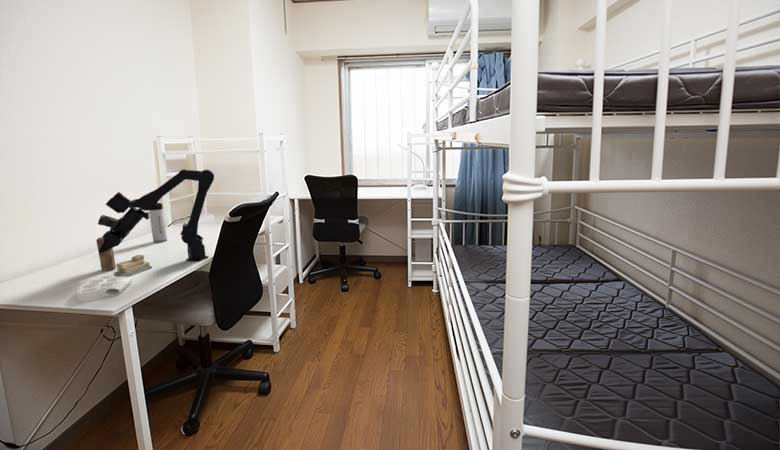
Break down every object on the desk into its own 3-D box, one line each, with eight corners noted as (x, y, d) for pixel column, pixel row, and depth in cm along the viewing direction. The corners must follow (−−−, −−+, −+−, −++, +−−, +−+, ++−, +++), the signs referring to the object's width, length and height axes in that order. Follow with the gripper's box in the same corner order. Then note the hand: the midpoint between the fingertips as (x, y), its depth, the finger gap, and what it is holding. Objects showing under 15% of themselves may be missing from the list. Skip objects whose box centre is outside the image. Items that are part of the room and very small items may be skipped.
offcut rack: (151, 268, 167) (149, 254, 166) (127, 276, 157) (124, 262, 155) (139, 266, 169) (136, 253, 168) (113, 275, 159) (111, 260, 158)
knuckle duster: (116, 299, 136) (65, 304, 132) (136, 281, 153) (91, 285, 150) (114, 289, 135) (63, 294, 132) (134, 272, 152) (90, 276, 149)
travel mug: (156, 240, 213) (150, 201, 209) (169, 239, 214) (164, 201, 210) (150, 243, 207) (144, 203, 203) (164, 242, 208) (158, 203, 204)
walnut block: (115, 267, 169) (110, 236, 166) (113, 269, 165) (108, 238, 163) (104, 268, 167) (98, 237, 165) (101, 271, 164) (96, 239, 161)
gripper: (115, 204, 171) (88, 233, 169) (104, 211, 154) (74, 243, 152) (140, 221, 176) (114, 249, 174) (132, 230, 159) (103, 261, 157)
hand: (101, 250), depth 164 cm, fingers open, 6 cm apart
